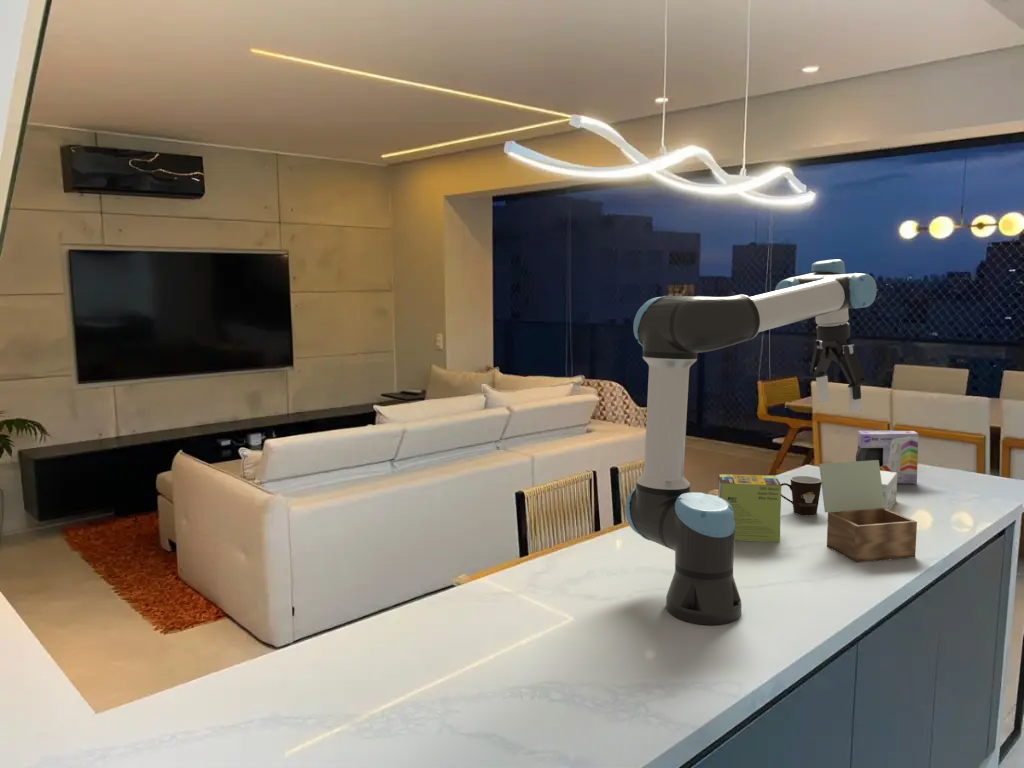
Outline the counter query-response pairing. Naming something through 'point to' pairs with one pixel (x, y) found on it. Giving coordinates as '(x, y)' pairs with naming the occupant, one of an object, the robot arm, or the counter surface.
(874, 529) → the crate
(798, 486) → the coffee mug
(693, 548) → the robot arm
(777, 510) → the protein box
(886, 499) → the supplement box
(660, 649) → the counter surface
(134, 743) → the counter surface
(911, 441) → the cake pan box
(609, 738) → the counter surface
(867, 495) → the lid
